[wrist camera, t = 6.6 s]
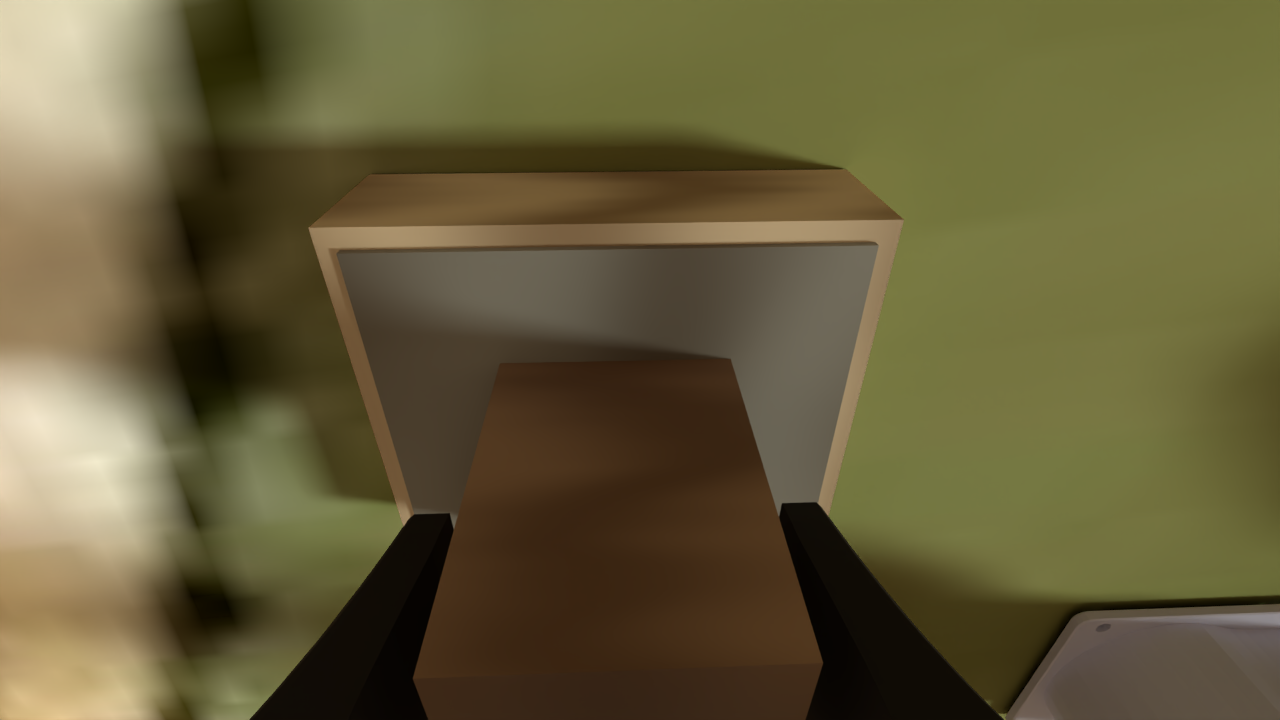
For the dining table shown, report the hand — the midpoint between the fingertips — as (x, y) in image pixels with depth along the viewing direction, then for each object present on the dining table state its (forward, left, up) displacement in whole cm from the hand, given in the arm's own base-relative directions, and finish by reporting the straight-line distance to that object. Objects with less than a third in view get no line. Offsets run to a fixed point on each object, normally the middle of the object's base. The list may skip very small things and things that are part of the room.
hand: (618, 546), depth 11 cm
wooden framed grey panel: (0, 0, -6) cm, 6 cm away
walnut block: (0, 0, -2) cm, 3 cm away
